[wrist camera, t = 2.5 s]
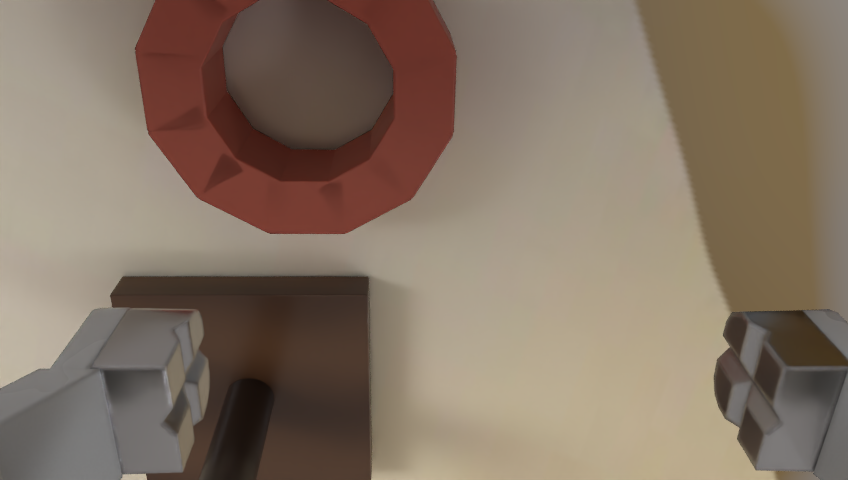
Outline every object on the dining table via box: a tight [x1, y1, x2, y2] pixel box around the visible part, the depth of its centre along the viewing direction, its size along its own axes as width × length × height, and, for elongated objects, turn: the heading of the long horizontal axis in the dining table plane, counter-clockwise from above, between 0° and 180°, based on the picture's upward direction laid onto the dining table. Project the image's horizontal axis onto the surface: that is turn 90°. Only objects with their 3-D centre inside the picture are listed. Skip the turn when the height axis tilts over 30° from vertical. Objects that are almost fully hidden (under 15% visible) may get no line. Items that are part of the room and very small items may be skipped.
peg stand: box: [110, 277, 372, 480], centre depth 27 cm, size 10×10×12 cm
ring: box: [135, 0, 457, 234], centre depth 25 cm, size 10×10×3 cm
